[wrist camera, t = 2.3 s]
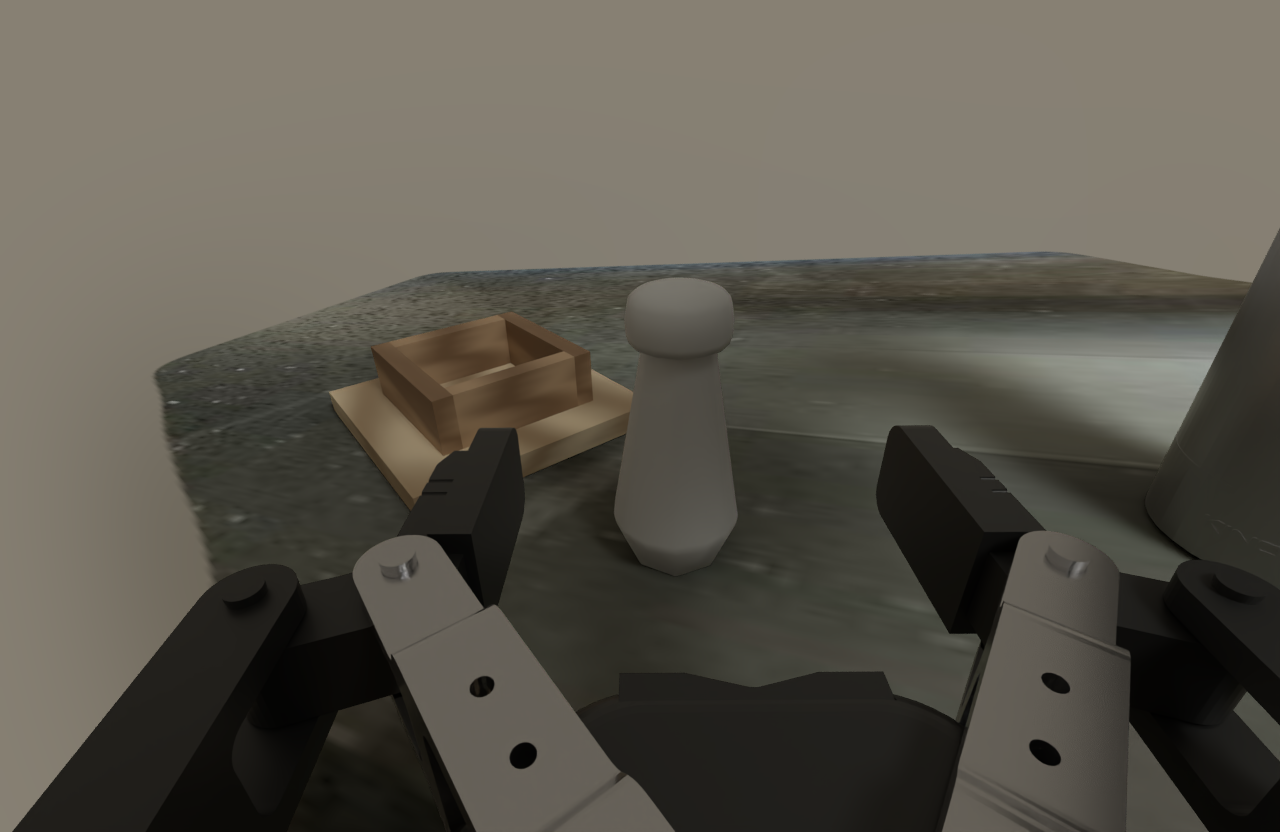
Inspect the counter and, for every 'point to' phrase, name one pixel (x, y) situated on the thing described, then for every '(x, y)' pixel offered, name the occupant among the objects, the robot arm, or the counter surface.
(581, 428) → the socket holder
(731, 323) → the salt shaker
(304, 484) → the counter surface
